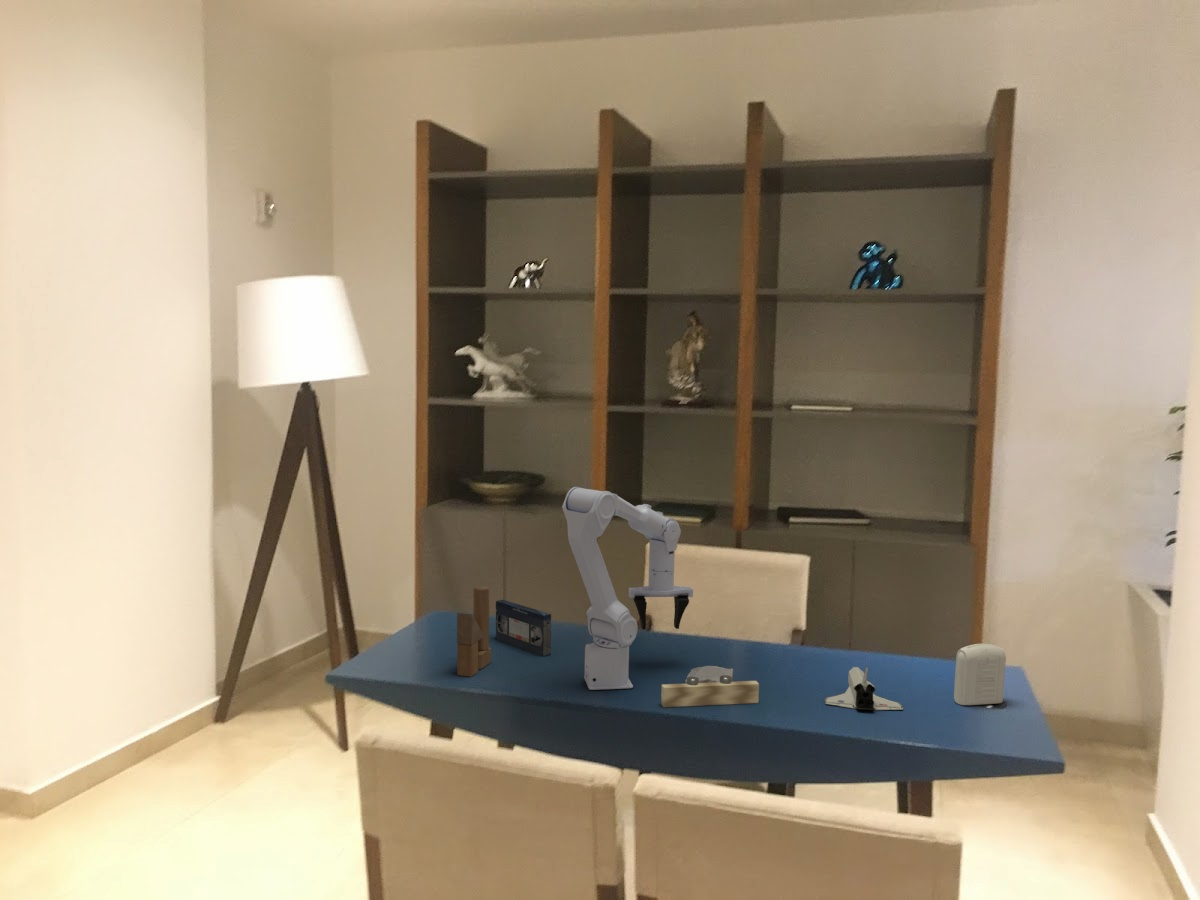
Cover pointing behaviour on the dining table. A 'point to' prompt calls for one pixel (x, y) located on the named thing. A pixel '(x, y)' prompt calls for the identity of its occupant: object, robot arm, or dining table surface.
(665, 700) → the bench stop
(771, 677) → the dining table surface
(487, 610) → the stacked wooden blocks
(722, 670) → the stone block
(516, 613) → the vhs cassette tape
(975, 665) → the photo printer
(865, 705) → the space shuttle model
